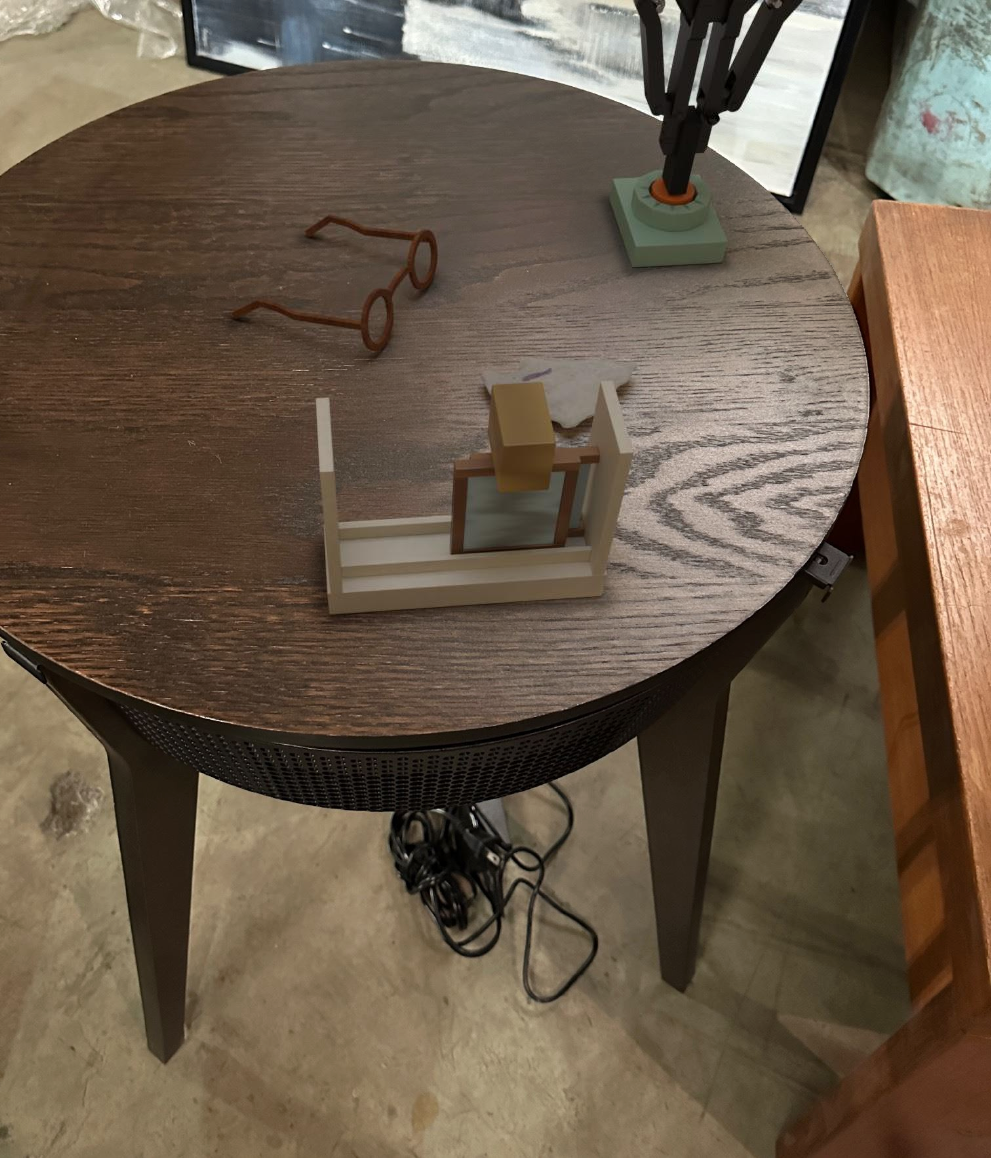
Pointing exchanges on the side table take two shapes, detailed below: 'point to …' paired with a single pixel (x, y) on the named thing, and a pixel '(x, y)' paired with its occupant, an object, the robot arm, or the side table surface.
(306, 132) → the side table surface
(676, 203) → the button
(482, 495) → the pane
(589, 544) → the window frame
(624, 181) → the button box
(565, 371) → the decorative stone
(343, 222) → the glasses
